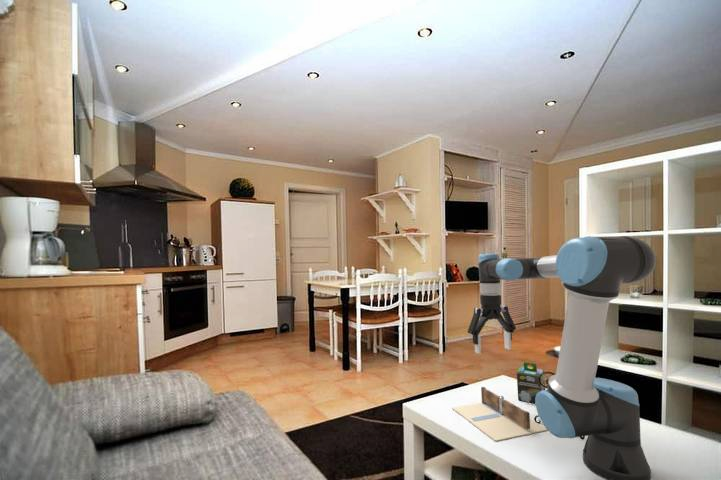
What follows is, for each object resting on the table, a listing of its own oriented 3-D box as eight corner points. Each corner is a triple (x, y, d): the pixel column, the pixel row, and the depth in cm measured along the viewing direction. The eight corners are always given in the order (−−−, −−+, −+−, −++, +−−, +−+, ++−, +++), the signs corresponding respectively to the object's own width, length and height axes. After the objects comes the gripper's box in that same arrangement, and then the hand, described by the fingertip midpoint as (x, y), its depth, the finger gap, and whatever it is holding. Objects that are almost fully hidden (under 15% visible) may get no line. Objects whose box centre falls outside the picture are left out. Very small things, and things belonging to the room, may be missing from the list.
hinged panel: (503, 414, 127) (502, 399, 127) (506, 413, 127) (505, 399, 127) (527, 429, 116) (526, 413, 116) (530, 428, 116) (529, 412, 116)
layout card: (548, 430, 117) (548, 428, 117) (495, 441, 111) (495, 440, 111) (498, 401, 141) (497, 399, 141) (452, 408, 135) (452, 407, 135)
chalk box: (546, 397, 143) (544, 361, 144) (542, 405, 136) (541, 367, 136) (521, 392, 148) (520, 357, 149) (517, 400, 141) (515, 363, 142)
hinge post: (505, 415, 128) (504, 397, 128) (501, 415, 127) (501, 397, 127) (502, 413, 129) (501, 395, 129) (498, 413, 129) (498, 396, 129)
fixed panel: (500, 413, 130) (500, 396, 130) (498, 414, 129) (497, 396, 130) (484, 403, 139) (483, 386, 139) (481, 403, 139) (481, 387, 139)
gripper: (509, 291, 140) (512, 345, 139) (456, 295, 133) (459, 352, 131) (524, 293, 133) (527, 349, 132) (468, 296, 125) (471, 357, 124)
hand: (493, 351), depth 132 cm, fingers open, 13 cm apart
